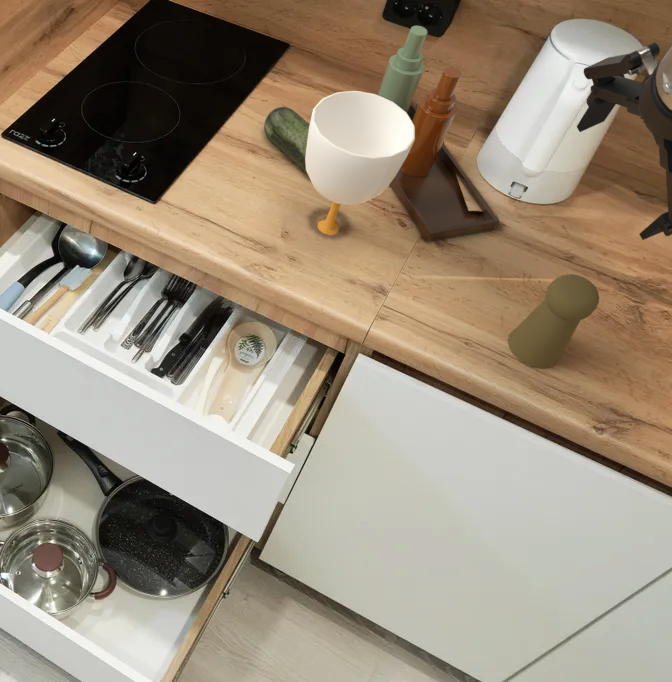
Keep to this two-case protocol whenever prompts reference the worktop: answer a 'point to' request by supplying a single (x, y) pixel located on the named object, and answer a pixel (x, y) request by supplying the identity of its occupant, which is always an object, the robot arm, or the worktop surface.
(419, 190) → the tray
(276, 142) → the vegetable
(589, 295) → the olive pepper shaker
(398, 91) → the sage bottle
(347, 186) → the cup
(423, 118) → the amber bottle
